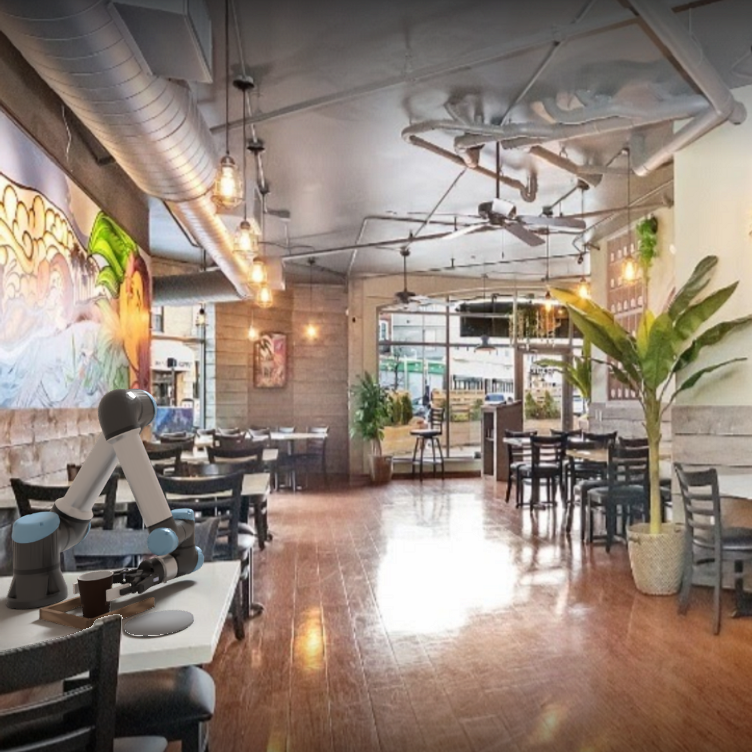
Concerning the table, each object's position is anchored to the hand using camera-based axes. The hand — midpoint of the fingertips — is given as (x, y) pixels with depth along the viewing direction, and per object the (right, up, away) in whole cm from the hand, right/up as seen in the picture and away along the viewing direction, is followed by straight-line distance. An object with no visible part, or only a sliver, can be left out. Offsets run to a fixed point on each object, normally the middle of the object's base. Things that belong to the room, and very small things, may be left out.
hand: (89, 592), depth 164 cm
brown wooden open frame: (+2, -6, +2) cm, 7 cm away
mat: (+21, -5, -8) cm, 23 cm away
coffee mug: (+2, -6, +2) cm, 7 cm away
